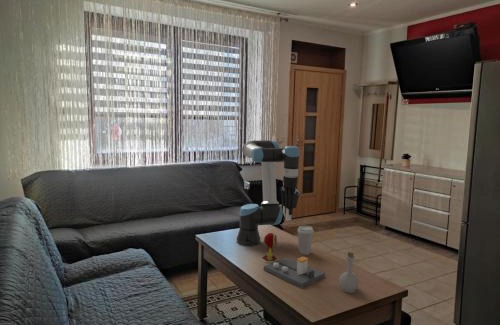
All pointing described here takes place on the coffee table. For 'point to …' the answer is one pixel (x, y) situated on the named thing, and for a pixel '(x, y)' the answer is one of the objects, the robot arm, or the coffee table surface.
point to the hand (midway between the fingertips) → (288, 220)
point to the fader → (302, 265)
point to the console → (293, 272)
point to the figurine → (270, 248)
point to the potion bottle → (349, 277)
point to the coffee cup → (305, 239)
